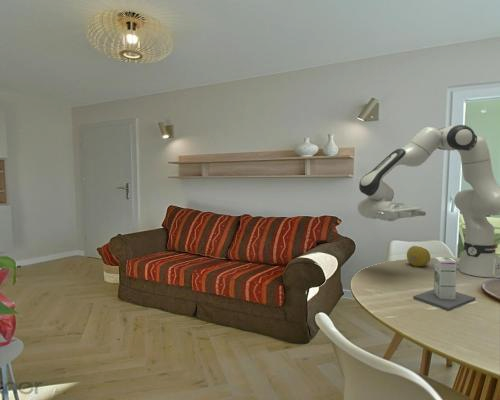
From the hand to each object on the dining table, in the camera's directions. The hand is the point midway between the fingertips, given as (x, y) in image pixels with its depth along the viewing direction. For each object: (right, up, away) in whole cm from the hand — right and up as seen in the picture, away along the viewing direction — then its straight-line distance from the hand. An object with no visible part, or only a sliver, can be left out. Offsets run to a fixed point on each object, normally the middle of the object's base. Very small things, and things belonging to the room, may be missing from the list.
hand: (418, 214), depth 138 cm
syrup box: (+3, -30, -13) cm, 33 cm away
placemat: (+3, -31, -13) cm, 34 cm away
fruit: (+16, -28, +31) cm, 45 cm away
